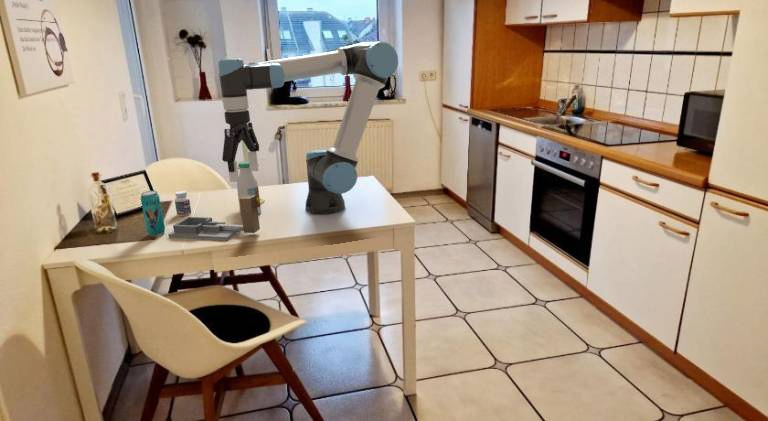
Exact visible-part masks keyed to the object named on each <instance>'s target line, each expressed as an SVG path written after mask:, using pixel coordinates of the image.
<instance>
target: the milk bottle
mask: <svg viewBox="0 0 768 421" xmlns="http://www.w3.org/2000/svg"><path fill="white" fill-rule="evenodd" d="M237 166H239V169H238V170H239V173H238V176H239V182H236V190H237V197H238V198H237V199H238V206H239V213H240V214H241V209H240V201H239V198H241V197H242V196H244V195H256V201H257V209H258V215H260V214H261V213H262V208H261V204H260V199H261V198H260V190H259V184H258V181H257V178H256V176H255V175H254V173H253V171H250V166H249V162H248V161H246V162H244V161H241V162H238V163H237Z"/></svg>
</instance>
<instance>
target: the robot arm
mask: <svg viewBox="0 0 768 421" xmlns="http://www.w3.org/2000/svg"><path fill="white" fill-rule="evenodd" d="M398 66H399V56H398V54H397V51H396V49H395V48H394V47H393V46H392V45H391V44H390V43H388V42H387V41H386V42H385V41H381V40H375V41H374V40H373V41H362V42H358V43H355V44H354V43H353V44H352V45H347V46H343V47H342V46H341V47H338V48H337V49H336V50H334V51H329V52H323V53H314V54H308V55H302V56H294V57H287V58H280V59H279V58H278V59H272V60H268V61H267V60H266V61H265V60H264V61H259V62H249V63H247V64H245V63H244V59H242V58H222V59H220V60H218V77H219V78H218V79H219V82H220V83H219V85H220V90H221V91H220V92H221V97H222V105H223V110H224V119H225V120H224V121H225V123H226V124H227V125H229V128H224V131H223V132H224V141H223V150H222V158H221V159H222V161H223V162H224V163H225V162H226V163H227V168H228V177H229V182H232V183H233V182H235V183H237V182H239V169H237V166H238V162H237V160H236V156H237V152H238V148H239V145H240V143H242V140H243V142H244V143H245V145H246V146H247V148H248V158H249V166H250V171H252V172H258V171H259V164H258V157H257V156H258V154H257V152H260V143H259V141H258V139H257V136H256V133H255V131H254V129H253V123H252V122H250V121H251V116H250V110H249V108H250V107H249V101H248V100H249V98H248V90H251V91H252V90H266V89H273V90H274V89H277V88H282V87H283V86H284V85H285V82H291V81H296V80H303V79H309V78H315V77H316V78H317V77H323V76H329V75H336V74H341V75H342V76H346V75H353V78H354V80H355V82H354V84H353V88H352V91H351V93H350V97H349V100H348V102H347V105H346V108H345V111H344V113H343V117H342V119H341V123H340V125H339V128H338V130H337V134H336V137H335V140H334V142H333V145H332V146H331V147H329V148H327V149H317V150H311V151H307V153H306V155H305V163H306V172H307V185H308V191H307V192H308V193H307V197H306V201H305V211H306V213H309V214H312V215H320V216H321V215H331V214H337V213H340V212H342V211H344V210H345V208H346V204H345V203H346V202H345V199H344V197H343V194H345V193H347V192H349V191H351V190H352V189H353V188H354V187H355V185H356V183H357V181H358V172H357V166H358V163H359V159H358V156H357V152H358V150H359V146H360V145H361V141H362V139H363V135H364V132H365V129H366V127H367V124H368V121H369V119H370V115H371V113H372V110H373V108H374V105H375V101H376V99H377V96H378V93H379V91H380V90H382V89H383V88H385V86H386V84H387V81H388V78H389V77H391V76H393V75H394V73H396V71H397V69H398Z"/></svg>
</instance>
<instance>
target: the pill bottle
mask: <svg viewBox="0 0 768 421" xmlns="http://www.w3.org/2000/svg"><path fill="white" fill-rule="evenodd" d="M174 194H175V198H174V205H175V211H176V215H177V216H178V217H188V216H189V215H191V214H192V207H191V201H190V197H189V196H188V194H187V191H186V190H179V191H176V192H175V193H174Z"/></svg>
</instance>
